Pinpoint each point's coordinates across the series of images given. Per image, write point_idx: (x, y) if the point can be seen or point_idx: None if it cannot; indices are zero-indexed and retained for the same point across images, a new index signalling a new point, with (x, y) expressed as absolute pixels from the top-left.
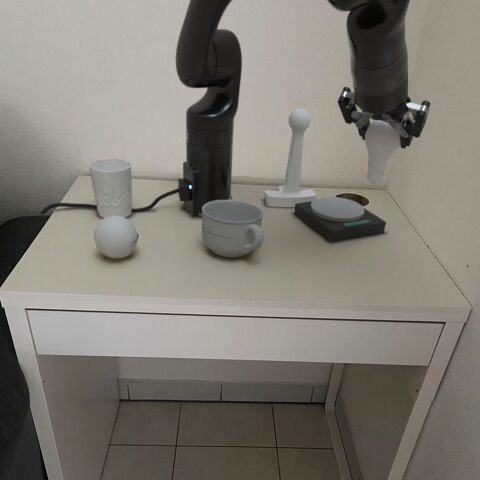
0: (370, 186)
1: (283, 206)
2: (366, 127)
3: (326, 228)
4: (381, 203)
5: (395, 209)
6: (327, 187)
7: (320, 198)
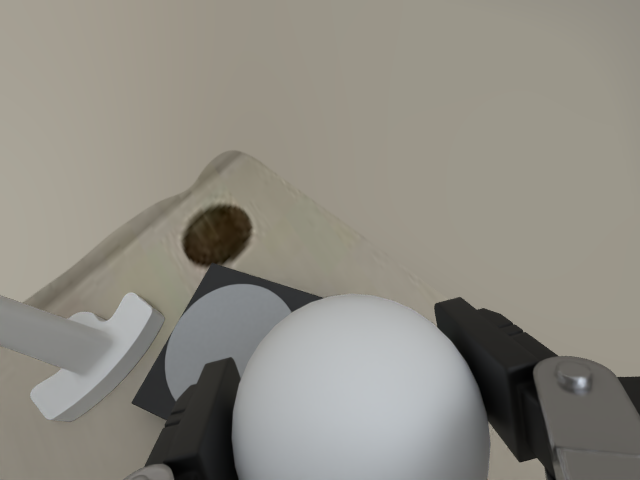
0: (215, 158)
1: (107, 393)
2: (226, 477)
3: None
4: (269, 201)
5: (304, 202)
6: (149, 223)
7: (173, 337)
